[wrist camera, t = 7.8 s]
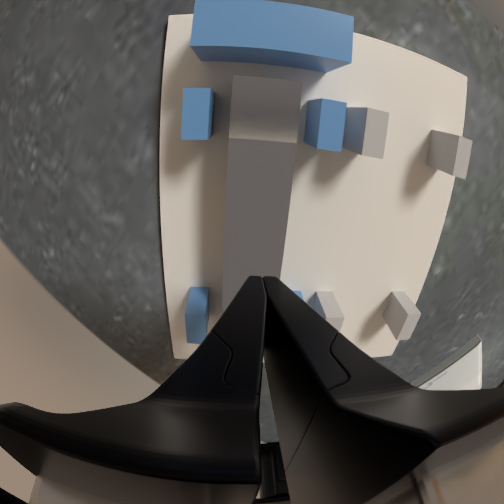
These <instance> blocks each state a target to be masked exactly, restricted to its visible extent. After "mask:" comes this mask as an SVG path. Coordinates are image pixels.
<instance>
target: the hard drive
mask: <svg viewBox="0 0 504 504" xmlns="http://www.w3.org/2000/svg"><path fill="white" fill-rule="evenodd" d="M410 383H411V385H413V386H415V387H418V388H421V389H425V390H478V389H480V388H481V387H482V341H481V338H480V337H479V336H478V335H476V336H475V337H474V338H473V339H471V340H470V341H469V342H467V343H466V344H465V345H464V346H462V347H461V348H460V349H458V350H457V351H456V352H454V353H453V354H452V355H450V356H449V357H448V358H446V359H445V360H443V361H442V362H441V363H439V364H438V365H436V366H435V367H433V368H432V369H430V370H429V371H427V372H426V373H424V374H423V375H421V376H420V377H418V378H417V379H415V380H414V381H412V382H410Z"/></svg>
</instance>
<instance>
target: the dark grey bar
mask: <svg viewBox="0 0 504 504" xmlns="http://www.w3.org/2000/svg"><path fill="white" fill-rule="evenodd" d="M301 94H302V82H300V81H293V80H285V79H276V78H266V77H254V76H238V75H233V85H232V98H231V113H230V128H229V144H228V161H227V180H226V201H225V224H224V252H223V287H222V313H223V312H224V311H225V309H226V308H227V306H228V305H229V303H230V302H231V301H232V299H233V298H234V296H235V295H236V294H237V292H238V291H239V289H240V288H241V286H242V285H243V284H244V282H245V281H246V279H247V278H248V277H249V276H250V275H252V276H262V278H263V277H264V276H275V277H277V278H278V279H280V275H281V268H282V261H283V254H284V246H285V239H286V231H287V223H288V215H289V207H290V199H291V190H292V182H293V173H294V164H295V155H296V145H297V136H298V126H299V115H300V105H301Z"/></svg>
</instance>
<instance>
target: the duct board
mask: <svg viewBox="0 0 504 504" xmlns="http://www.w3.org/2000/svg"><path fill="white" fill-rule="evenodd" d="M353 27H354V17H352V16H348V15H344V14H340V13H336V12H332V11H328V10H323V9H318V8H313V7H308V6H302V5H296V4H289V3H282V2H273V1H264V0H195V7H194V14H185V15H170V16H169V21H168V28H167V37H166V46H165V56H164V67H163V79H162V95H161V115H160V214H161V235H162V251H163V265H164V277H165V288H166V298H167V307H168V316H169V324H170V332H171V340H172V347H173V354H174V358H176V359H188V358H189V357H190V356H191V355H192V353H193V352H194V351H195V350H196V349H197V348H198V346H199V345H200V344H201V343H202V341H203V340H204V339H205V337H206V336H207V334H208V333H209V332H210V330H211V329H212V328H213V326H214V325H215V323H216V322H217V320H218V319H219V318H220V316H221V315H222V287H223V252H224V224H225V201H226V180H227V161H228V144H229V128H230V113H231V98H232V85H233V75H238V76H254V77H266V78H276V79H285V80H293V81H300V82H302V94H301V105H300V115H299V126H298V136H297V145H296V155H295V164H294V173H293V182H292V190H291V199H290V207H289V215H288V223H287V231H286V239H285V246H284V254H283V261H282V268H281V275H280V280H281V281H282V282H283V283H284V284H285V285H286V286H288V287H289V288H290V289H291V290H292V291H293V292H294V293H296V294H297V295H298V296H299V297H300V298H301V299H302V300H304V301H305V302H306V303H307V304H308V305H309V306H310V307H312V308H313V309H314V310H315V311H316V312H317V313H318V314H320V315H321V316H322V317H323V318H324V319H325V320H326V321H328V322H329V323H330V324H331V325H332V326H333V327H334V328H336V329H337V330H338V331H339V332H340V333H341V334H343V335H344V336H345V337H346V338H347V339H348V340H350V341H351V342H352V343H353V344H354V345H356V346H357V347H358V348H359V349H361V350H362V351H363V352H365V353H366V354H367V355H369V356H370V357H381V356H390V355H392V354H393V352H394V350H395V348H396V346H397V344H398V342H399V340H407V339H410V337H411V335H412V332H413V330H414V328H415V326H416V324H417V322H418V320H419V318H420V315H421V313H420V311H419V310H418V309H417V307H416V306H415V304H416V302H417V299H418V297H419V294H420V292H421V289H422V287H423V284H424V282H425V279H426V276H427V273H428V271H429V268H430V265H431V262H432V259H433V256H434V253H435V250H436V247H437V244H438V241H439V238H440V234H441V231H442V228H443V224H444V221H445V217H446V213H447V210H448V206H449V202H450V198H451V193H452V189H453V185H454V180H455V176H456V177H459V178H463V179H466V174H467V169H468V164H469V159H470V153H471V146H472V141H471V140H469V139H466V138H464V137H462V134H463V126H464V117H465V107H466V94H467V77H466V76H464V75H462V74H460V73H458V72H456V71H454V70H452V69H450V68H448V67H446V66H444V65H442V64H440V63H438V62H435V61H433V60H431V59H429V58H426V57H424V56H422V55H419V54H417V53H414V52H412V51H409V50H407V49H404V48H401V47H399V46H396V45H393V44H390V43H387V42H384V41H381V40H378V39H375V38H372V37H368V36H365V35H361V34H358V33H354V32H353ZM263 362H264V357H263Z"/></svg>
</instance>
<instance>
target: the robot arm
mask: <svg viewBox="0 0 504 504" xmlns="http://www.w3.org/2000/svg"><path fill="white" fill-rule="evenodd" d="M263 357H264V362H265V368H266V373H267V378H268V384H269V389H270V395H271V400H272V405H273V411H274V416H275V422H276V427H277V432H278V437H279V443H269V444H260V425H259V406H260V393H261V380H262V368H263ZM0 446H1V447H2V448H3V449H4V450H5V451H7V452H8V453H9V454H10V455H11V456H12V457H13V458H14V459H16V460H17V461H18V462H19V463H20V464H21V465H23V466H24V467H25V468H26V469H28V470H29V471H30V472H31V473H33V474H34V475H35V476H36V479H35V483H34V486H33V490H32V493H31V497H30V501H29V504H504V387H500V388H493V389H478V390H425V389H421V388H418V387H415V386H413V385H411V384H409V383H407V382H406V381H404V380H403V379H401V378H400V377H399V376H397V375H396V374H394V373H393V372H391V371H390V370H388V369H387V368H386V367H384V366H383V365H381V364H380V363H378V362H377V361H376V360H374V359H373V358H371V357H370V356H369V355H367V354H366V353H365V352H363V351H362V350H361V349H359V348H358V347H357V346H356V345H354V344H353V343H352V342H351V341H350V340H348V339H347V338H346V337H345V336H344V335H343V334H341V333H340V332H339V331H338V330H337V329H336V328H334V327H333V326H332V325H331V324H330V323H329V322H328V321H326V320H325V319H324V318H323V317H322V316H321V315H320V314H318V313H317V312H316V311H315V310H314V309H313V308H312V307H310V306H309V305H308V304H307V303H306V302H305V301H304V300H302V299H301V298H300V297H299V296H298V295H297V294H296V293H294V292H293V291H292V290H291V289H290V288H289V287H288V286H286V285H285V284H284V283H283V282H282V281H281V280H280V279H278V278H277V277H275V276H264V277H263V278H262V276H252V275H250V276H249V277H248V278H247V279H246V281H245V282H244V284H243V285H242V286H241V288H240V289H239V291H238V292H237V294H236V295H235V296H234V298H233V299H232V301H231V302H230V303H229V305H228V306H227V308H226V309H225V311H224V312H223V313H222V315H221V316H220V318H219V319H218V320H217V322H216V323H215V325H214V326H213V328H212V329H211V330H210V332H209V333H208V334H207V336H206V337H205V339H204V340H203V341H202V343H201V344H200V345H199V346H198V348H197V349H196V350H195V351H194V352H193V353H192V355H191V356H190V357H189V358H188V359H187V360H186V361H185V362H184V363H183V364H182V365H181V366H180V367H179V368H178V369H177V370H176V371H175V372H174V373H173V374H172V375H171V376H170V377H169V378H168V379H167V380H166V381H165V382H164V383H163V384H162V385H161V386H160V387H159V388H158V389H157V390H155V391H154V392H153V393H152V394H151V395H150V396H148V397H146V398H145V399H143V400H141V401H139V402H136V403H132V404H127V405H122V406H117V407H111V408H106V409H100V410H94V411H87V412H80V413H71V414H59V413H58V414H57V413H50V412H45V411H42V410H39V409H36V408H33V407H30V406H28V405H25V404H22V403H17V402H13V403H7V404H2V405H0ZM259 489H260V499H256V496H257V494H258V492H259ZM0 504H28V503H26V502H24V501H23V500H21V499H19V498H17V497H15V496H14V495H12V494H10V493H8V492H7V491H5V490H3V489H2V488H0Z"/></svg>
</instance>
